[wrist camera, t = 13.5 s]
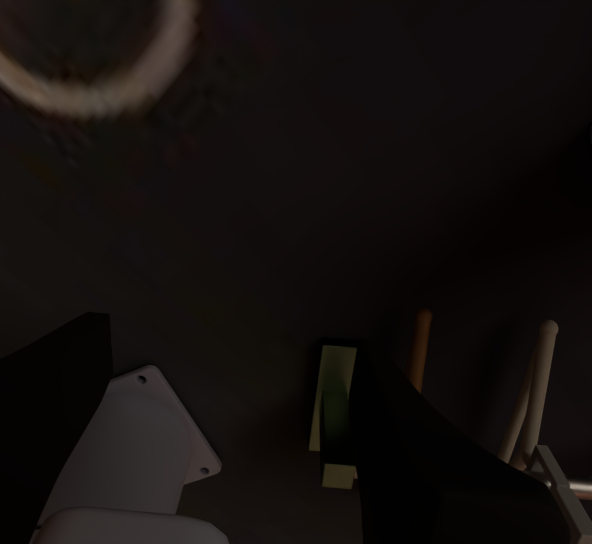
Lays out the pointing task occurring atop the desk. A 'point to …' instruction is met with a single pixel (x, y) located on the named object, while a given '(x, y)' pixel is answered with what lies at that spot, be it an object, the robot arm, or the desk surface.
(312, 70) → the desk surface
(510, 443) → the white hanger
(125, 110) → the desk surface
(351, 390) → the robot arm
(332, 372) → the rail
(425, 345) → the beech hanger
